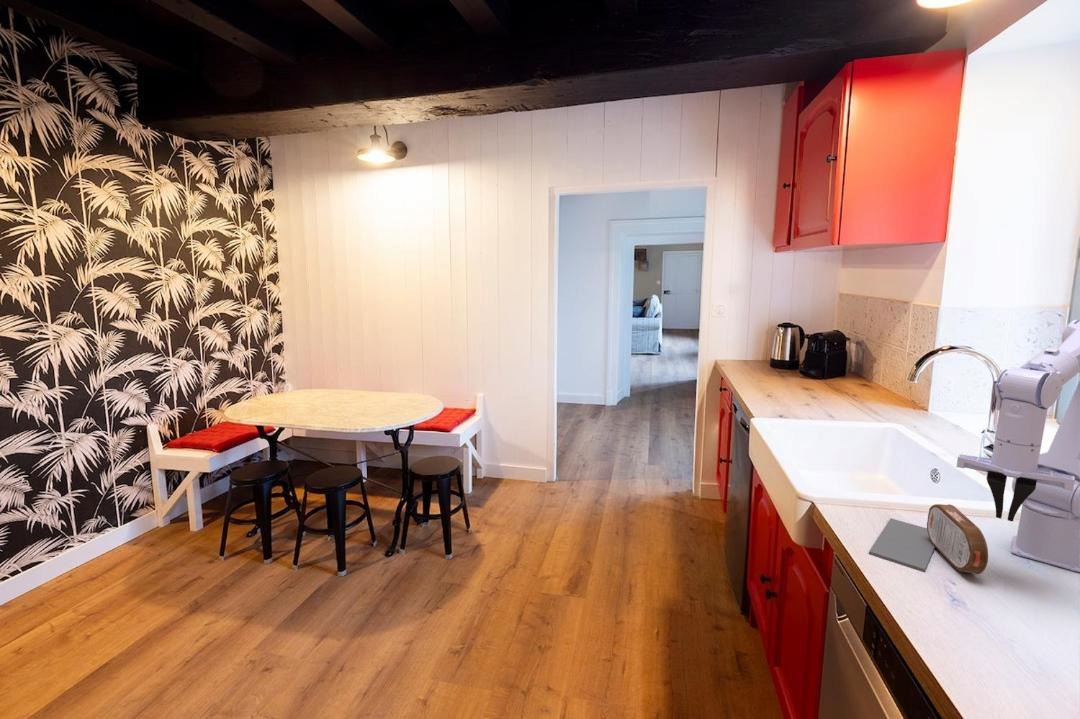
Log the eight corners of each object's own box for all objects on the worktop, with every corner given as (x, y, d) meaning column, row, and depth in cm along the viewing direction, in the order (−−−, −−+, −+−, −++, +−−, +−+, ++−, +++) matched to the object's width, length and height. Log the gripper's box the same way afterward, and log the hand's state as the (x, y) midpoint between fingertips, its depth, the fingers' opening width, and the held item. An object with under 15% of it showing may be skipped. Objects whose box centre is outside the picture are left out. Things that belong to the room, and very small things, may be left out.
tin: (983, 584, 89) (996, 539, 87) (962, 581, 89) (974, 536, 87) (937, 536, 103) (947, 497, 101) (919, 534, 104) (928, 494, 102)
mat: (940, 534, 105) (940, 532, 105) (924, 571, 92) (924, 569, 92) (890, 520, 111) (890, 518, 111) (868, 553, 98) (869, 551, 98)
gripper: (959, 436, 90) (947, 511, 92) (1080, 457, 80) (1064, 541, 82) (964, 427, 95) (953, 499, 97) (1079, 446, 85) (1064, 525, 87)
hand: (1004, 517), depth 90 cm, fingers closed
